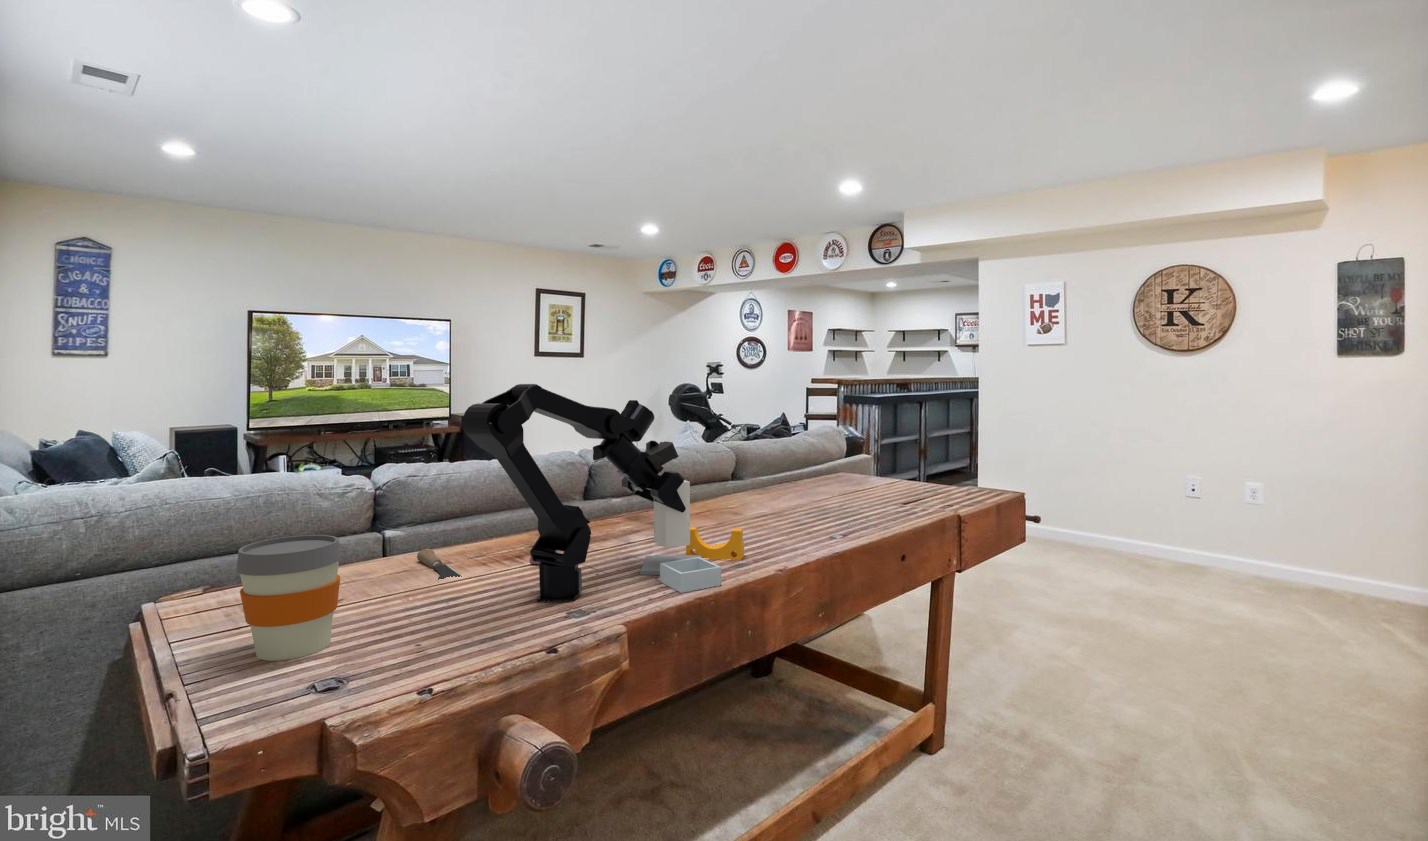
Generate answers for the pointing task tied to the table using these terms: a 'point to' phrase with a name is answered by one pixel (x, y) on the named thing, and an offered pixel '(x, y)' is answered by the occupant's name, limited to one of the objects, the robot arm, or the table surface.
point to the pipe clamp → (717, 546)
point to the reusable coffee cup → (290, 594)
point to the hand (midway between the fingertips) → (677, 508)
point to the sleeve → (690, 574)
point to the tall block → (673, 521)
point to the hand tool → (436, 563)
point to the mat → (653, 562)
